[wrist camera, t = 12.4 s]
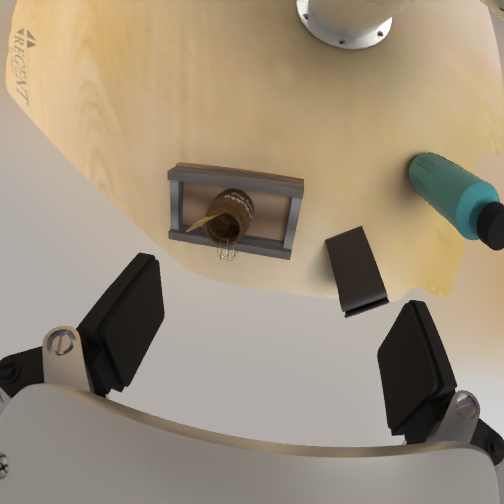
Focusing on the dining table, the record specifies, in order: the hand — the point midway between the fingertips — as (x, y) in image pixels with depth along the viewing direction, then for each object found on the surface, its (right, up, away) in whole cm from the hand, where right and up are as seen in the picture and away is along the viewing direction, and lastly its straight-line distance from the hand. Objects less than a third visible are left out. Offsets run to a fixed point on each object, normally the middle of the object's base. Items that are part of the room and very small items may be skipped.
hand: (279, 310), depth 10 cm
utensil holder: (-4, +9, +30) cm, 32 cm away
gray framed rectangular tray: (-3, +9, +31) cm, 32 cm away
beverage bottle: (+23, +14, +24) cm, 36 cm away
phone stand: (+15, +2, +32) cm, 36 cm away
